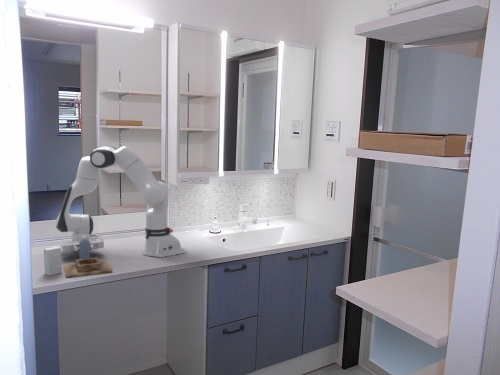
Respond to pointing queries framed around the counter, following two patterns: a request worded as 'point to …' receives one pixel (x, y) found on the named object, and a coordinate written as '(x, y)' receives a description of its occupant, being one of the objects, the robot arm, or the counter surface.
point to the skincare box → (52, 260)
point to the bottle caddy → (87, 267)
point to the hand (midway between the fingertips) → (84, 249)
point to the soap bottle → (84, 248)
